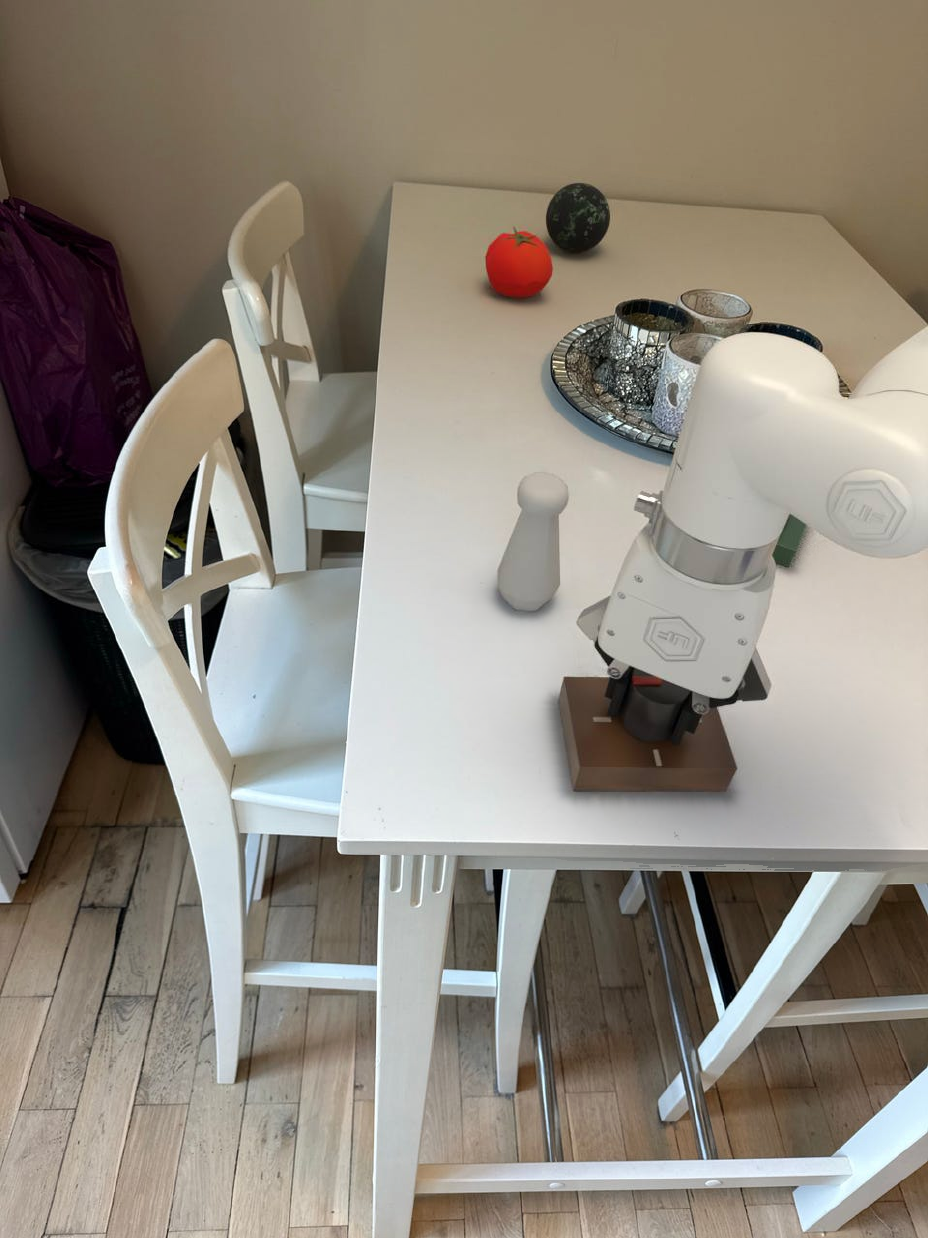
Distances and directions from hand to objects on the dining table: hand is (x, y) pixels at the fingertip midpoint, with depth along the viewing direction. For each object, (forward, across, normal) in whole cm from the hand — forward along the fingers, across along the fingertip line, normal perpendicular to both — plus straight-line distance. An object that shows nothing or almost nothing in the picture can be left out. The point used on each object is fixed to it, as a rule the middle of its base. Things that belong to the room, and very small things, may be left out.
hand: (648, 716), depth 68 cm
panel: (+4, 0, 0) cm, 4 cm away
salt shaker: (+4, -15, +11) cm, 19 cm away
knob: (+1, 0, 0) cm, 1 cm away
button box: (+4, +1, +33) cm, 33 cm away
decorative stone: (+4, -42, +90) cm, 99 cm away
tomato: (+4, -43, +70) cm, 82 cm away
